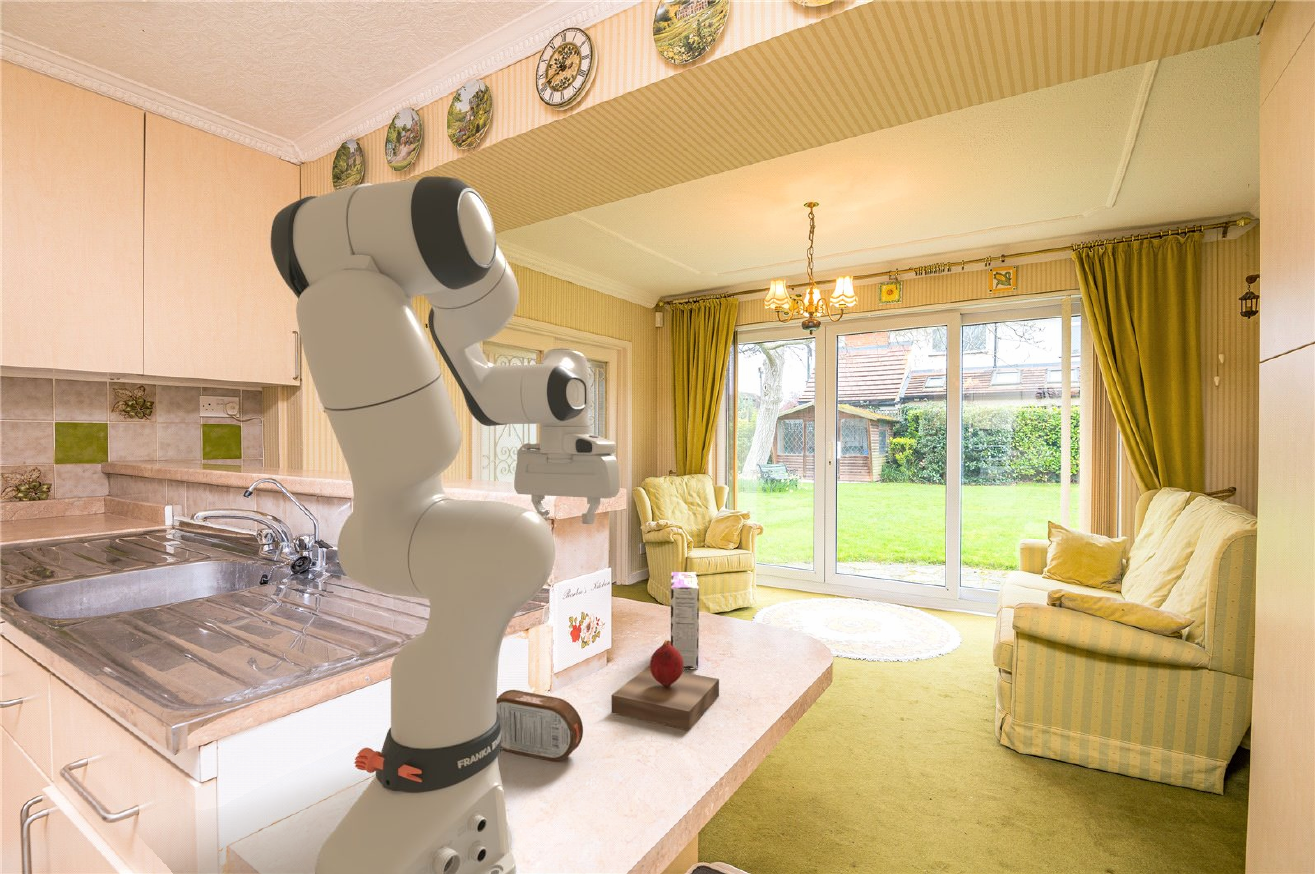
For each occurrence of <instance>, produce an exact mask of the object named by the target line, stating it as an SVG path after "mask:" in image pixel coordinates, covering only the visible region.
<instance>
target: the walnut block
mask: <svg viewBox="0 0 1315 874" xmlns="http://www.w3.org/2000/svg"><path fill="white" fill-rule="evenodd" d="M719 696H720V679H719V678H715V677H711V676H707V675H706V676H705V675H700V674H693V673H689V672H684V671H683V672H682V674H681V676H680V678H679V679H678V680H677V681H675V682H674V683H673V684H671V685H670V686H669V687H665V686H663V685H662V684H660V683H659V682H658V681H656V680H655V678H654V677H653V675H652V673H651V670H650V665H648V666H646V667H645V668H644V669H643V670H642V671H640V672H639V673H638V674H636V675H635V676H633V677H632V678H631V679H630V680H629V681H627V682H626V683H625V684H624V685H622V686H621V687H620V688H618V689H617V690H616V691H615V692H613V693H612V694H611V712H610V713H611V714H615V715H618V716H622V717H623V716H624V717H628V718H632V719H637V720H641V721H646V722H649V723H654V724H659V725H663V726H667V727H670V728H671V727H672V728H676V729H682V730H684V731H690V730H691V729H692V728H693V727H694V725H696V723H697V722H698V721H699V720H700V719H701V718H702V716H703V715H704V714H705V713H706V712H707V711H708V709H709V708H710V707H711V706H712V704H714V702H716V700H717V699H718V698H719Z"/></svg>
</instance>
